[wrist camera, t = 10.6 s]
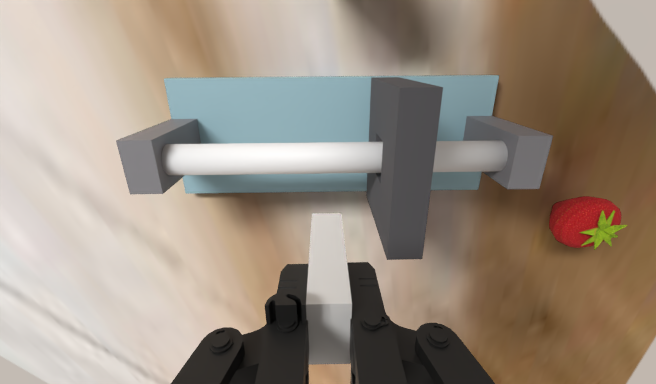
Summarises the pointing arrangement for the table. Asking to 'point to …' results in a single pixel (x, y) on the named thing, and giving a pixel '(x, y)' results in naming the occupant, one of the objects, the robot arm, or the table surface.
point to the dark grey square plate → (403, 161)
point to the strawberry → (585, 221)
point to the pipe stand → (318, 137)
